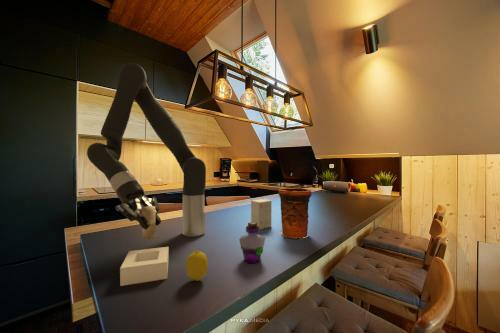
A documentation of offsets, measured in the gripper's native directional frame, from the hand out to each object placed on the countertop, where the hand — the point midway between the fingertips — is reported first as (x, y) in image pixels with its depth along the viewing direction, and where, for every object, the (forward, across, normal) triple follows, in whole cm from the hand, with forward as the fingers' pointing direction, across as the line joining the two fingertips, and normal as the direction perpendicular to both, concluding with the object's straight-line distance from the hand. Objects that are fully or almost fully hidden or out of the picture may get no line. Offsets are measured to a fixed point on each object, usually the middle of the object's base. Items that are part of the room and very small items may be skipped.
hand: (153, 225), depth 70 cm
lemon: (+23, -6, -8) cm, 25 cm away
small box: (+23, +46, -6) cm, 52 cm away
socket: (+11, -8, +3) cm, 14 cm away
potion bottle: (+29, +11, -13) cm, 34 cm away
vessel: (+35, +42, -18) cm, 58 cm away
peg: (+2, 0, +4) cm, 5 cm away
